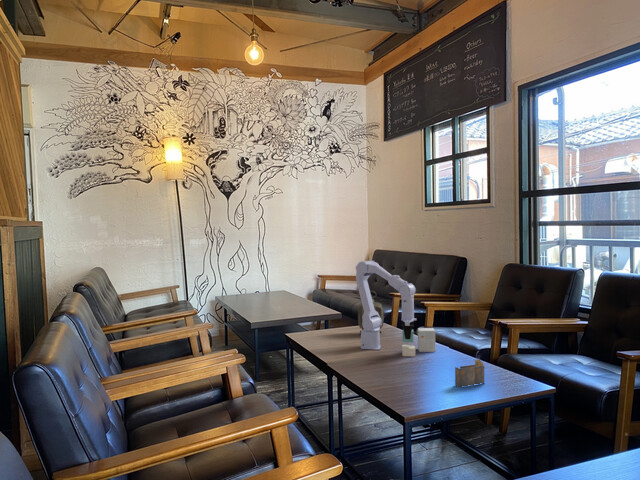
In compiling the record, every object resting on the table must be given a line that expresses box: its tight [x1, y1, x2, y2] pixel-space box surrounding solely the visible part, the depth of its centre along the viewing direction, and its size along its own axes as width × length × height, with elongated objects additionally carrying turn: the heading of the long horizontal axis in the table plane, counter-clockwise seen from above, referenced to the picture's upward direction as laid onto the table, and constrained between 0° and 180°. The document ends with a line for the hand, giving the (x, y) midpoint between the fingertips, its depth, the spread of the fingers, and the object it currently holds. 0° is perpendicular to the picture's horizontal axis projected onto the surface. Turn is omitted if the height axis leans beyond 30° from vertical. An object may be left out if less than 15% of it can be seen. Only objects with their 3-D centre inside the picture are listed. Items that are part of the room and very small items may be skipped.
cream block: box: [401, 344, 416, 357], centre depth 217 cm, size 6×6×4 cm
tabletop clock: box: [357, 290, 385, 334], centre depth 257 cm, size 14×9×25 cm, turn 85°
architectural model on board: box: [454, 358, 485, 388], centre depth 175 cm, size 11×3×10 cm, turn 108°
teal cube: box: [402, 329, 414, 343], centre depth 217 cm, size 5×5×5 cm
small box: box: [417, 327, 437, 353], centre depth 224 cm, size 8×6×10 cm
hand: (407, 337), depth 217 cm, fingers closed on teal cube, 5 cm apart
